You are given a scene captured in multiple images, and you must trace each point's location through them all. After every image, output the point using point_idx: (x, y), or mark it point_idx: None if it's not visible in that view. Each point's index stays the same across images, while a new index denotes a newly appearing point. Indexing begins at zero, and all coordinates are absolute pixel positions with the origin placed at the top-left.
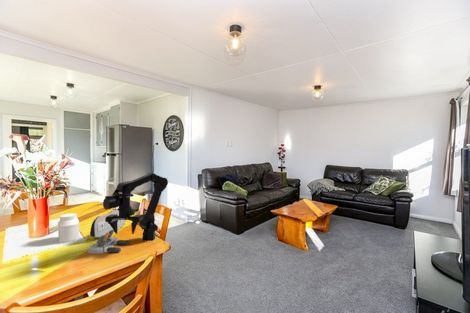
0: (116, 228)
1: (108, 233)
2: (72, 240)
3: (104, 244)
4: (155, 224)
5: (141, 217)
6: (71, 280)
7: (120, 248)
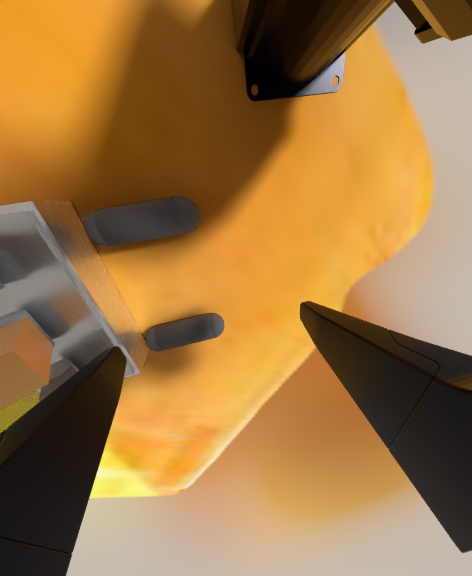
0: (83, 421)
1: (1, 369)
2: None
3: (99, 350)
4: None
5: None
6: (214, 446)
7: (221, 324)
